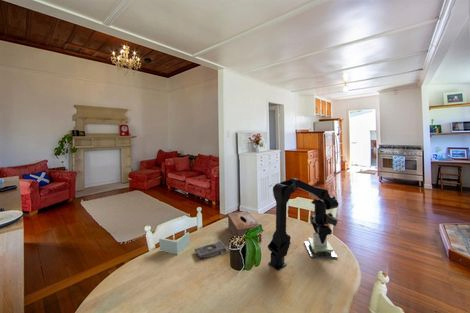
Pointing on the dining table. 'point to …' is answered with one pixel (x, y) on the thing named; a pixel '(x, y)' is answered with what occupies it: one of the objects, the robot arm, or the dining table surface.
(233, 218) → the tissue box cover
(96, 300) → the dining table surface
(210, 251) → the graphics card
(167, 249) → the right angle wall
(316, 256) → the chassis plate
